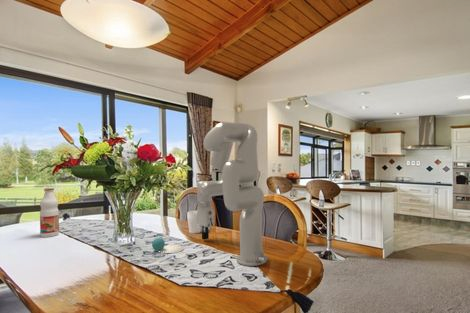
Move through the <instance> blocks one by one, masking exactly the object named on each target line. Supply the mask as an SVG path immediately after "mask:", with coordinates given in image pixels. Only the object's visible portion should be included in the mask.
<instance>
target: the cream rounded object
mask: <svg viewBox="0 0 470 313" xmlns="http://www.w3.org/2000/svg"><path fill="white" fill-rule="evenodd" d="M184 250H185V246H184V245H180V244H169V245H165V246H164V248H163V249H162V250H160V252H161V253H160V254H163V253H164V252H165V253H171V254H177V253H180V252H183V251H184ZM163 251H164V252H163ZM162 252H163V253H162ZM157 253H159V251H158V252H157Z"/></svg>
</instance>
